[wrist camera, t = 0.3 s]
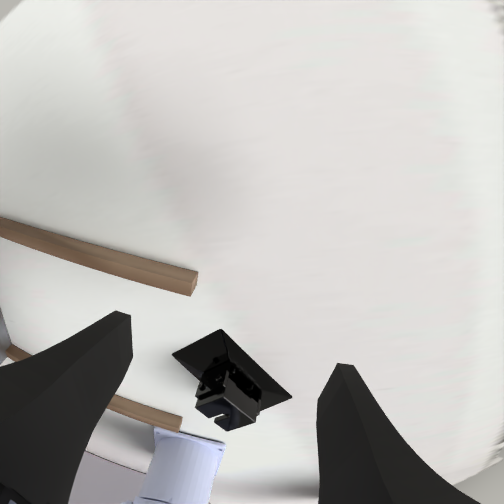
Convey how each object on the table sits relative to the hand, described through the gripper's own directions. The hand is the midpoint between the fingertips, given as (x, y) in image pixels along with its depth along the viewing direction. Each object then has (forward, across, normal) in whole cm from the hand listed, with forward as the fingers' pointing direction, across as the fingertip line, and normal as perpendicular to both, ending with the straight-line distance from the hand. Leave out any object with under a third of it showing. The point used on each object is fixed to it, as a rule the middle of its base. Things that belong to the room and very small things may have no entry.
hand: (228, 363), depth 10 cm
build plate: (+11, 0, +12) cm, 16 cm away
